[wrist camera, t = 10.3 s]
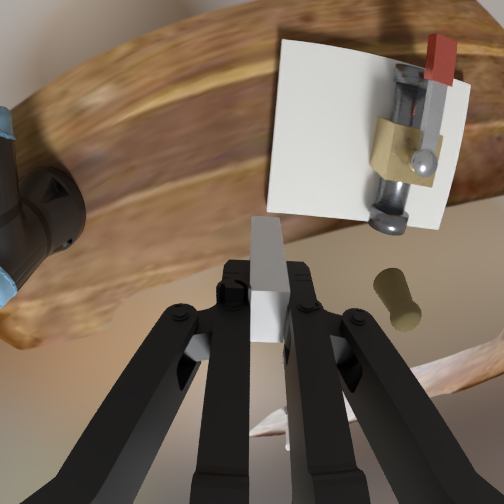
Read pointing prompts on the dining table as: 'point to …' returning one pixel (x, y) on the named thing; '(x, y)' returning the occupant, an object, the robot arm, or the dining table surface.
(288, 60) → the mounting board
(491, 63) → the dining table surface
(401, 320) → the cork
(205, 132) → the dining table surface
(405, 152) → the valve body
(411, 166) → the valve lever
